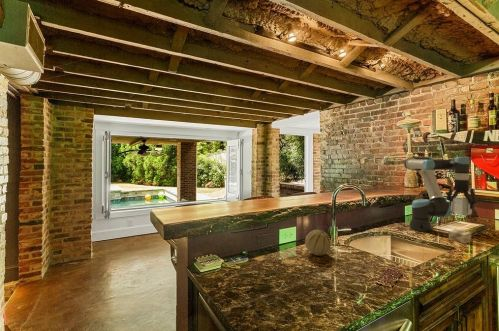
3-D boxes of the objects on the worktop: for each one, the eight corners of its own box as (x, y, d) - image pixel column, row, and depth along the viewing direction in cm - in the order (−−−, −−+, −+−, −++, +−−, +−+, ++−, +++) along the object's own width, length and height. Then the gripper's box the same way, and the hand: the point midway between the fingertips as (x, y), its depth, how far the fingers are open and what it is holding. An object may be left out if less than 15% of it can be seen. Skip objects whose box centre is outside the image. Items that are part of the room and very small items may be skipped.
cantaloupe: (303, 249, 157) (303, 226, 156) (327, 249, 156) (327, 226, 155) (307, 259, 142) (307, 233, 141) (333, 259, 141) (333, 233, 141)
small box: (470, 215, 166) (471, 199, 166) (462, 215, 166) (462, 199, 166) (460, 212, 174) (460, 197, 174) (452, 212, 174) (452, 197, 174)
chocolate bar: (373, 284, 115) (373, 280, 115) (386, 270, 128) (386, 267, 128) (391, 290, 110) (391, 285, 110) (402, 275, 123) (402, 271, 123)
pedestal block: (448, 240, 172) (448, 231, 172) (454, 237, 177) (455, 229, 176) (464, 243, 164) (465, 235, 164) (470, 241, 169) (471, 232, 168)
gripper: (440, 178, 178) (439, 209, 179) (479, 181, 158) (478, 216, 158) (446, 177, 181) (446, 208, 182) (485, 180, 161) (484, 215, 162)
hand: (461, 212), depth 170 cm, fingers closed on small box, 9 cm apart
